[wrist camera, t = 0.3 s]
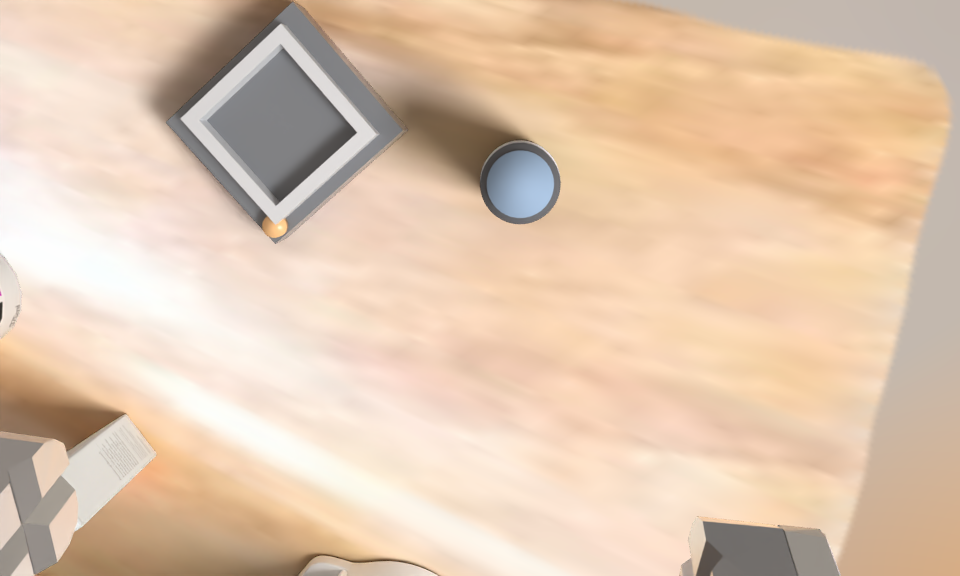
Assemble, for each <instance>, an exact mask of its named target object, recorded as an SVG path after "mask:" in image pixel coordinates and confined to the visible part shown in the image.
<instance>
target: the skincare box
mask: <svg viewBox="0 0 960 576" xmlns="http://www.w3.org/2000/svg"><path fill="white" fill-rule="evenodd" d="M67 456H68V459H69V463H70V464H69V465H68V466H67V468H66V469H65V470H64V472H63V473H62V475H61V476H62V477H63V478H64V479H65V480H66V481H67V482H68V483H69V484H70V485H71V486H72V487H73V488H74V489H75V491H76V496H77V501H78V519H77V524H76V527H75V530H74V532H75V531H76V530H78V529H79V528H81V527H82V526H83V525H84V524H86V523H87V522H88V521H89V520H90V519H91V518H92V517H93V516H94V515H95V514H96V513H97V512H98V511H99V510H100V509H101V508H102V507H103V506H104V505H106V504H107V503H108V502H109V501H110V500H111V499H112V498H113V497H114V496H115V495H116V494H117V493H118V492H119V491H120V490H121V489H122V488H123V487H124V486H125V485H126V484H127V483H128V482H130V481H131V480H132V479H133V478H134V477H135V476H136V475H137V474H138V473H139V472H140V471H141V470H142V469H143V468H144V467H145V466H146V465H147V464H148V463H149V462H150V461H151V460H152V459H153V458H154V457H156V452H155V451H154V449H153V448H152V447H151V446H150V444H149V443H148V442H147V440H146V439H145V438H144V436H143V435H142V434H141V433H140V431H139V430H138V429H137V427H136V426H135V425H134V423H133V422H132V421H131V419H130V418H129V417H128V415H127V414H124V415H122V416H120V417H119V418H117V419H116V420H114V421H113V422H111V423H109V424H108V425H106V426H105V427H103V428H102V429H100V430H99V431H97V432H96V433H94V434H93V435H91V436H89V437H88V438H87V439H85V440H84V441H82V442H81V443H79V444H78V445H76V446H75V447H73V448H72V449H70V450H69V451H67Z"/></svg>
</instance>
